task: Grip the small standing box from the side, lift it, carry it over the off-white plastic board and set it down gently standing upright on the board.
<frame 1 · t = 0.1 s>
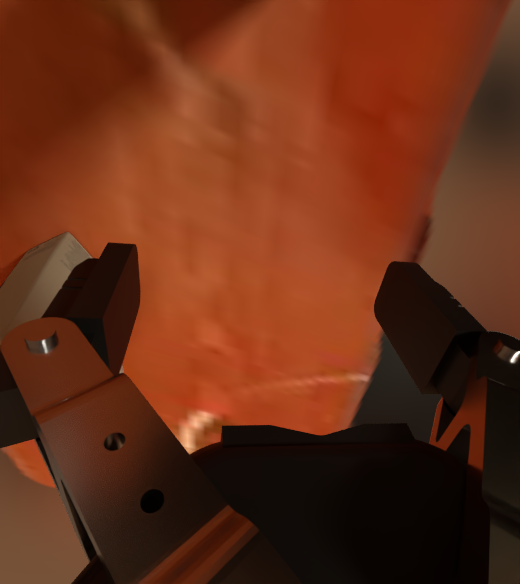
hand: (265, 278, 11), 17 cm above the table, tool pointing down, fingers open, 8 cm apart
box: (71, 262, 30), on the table
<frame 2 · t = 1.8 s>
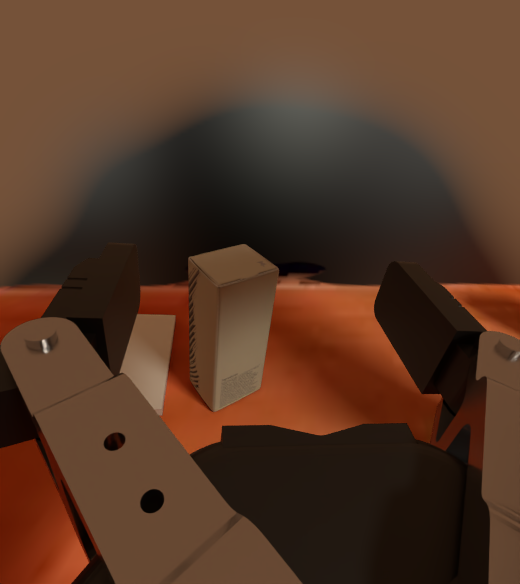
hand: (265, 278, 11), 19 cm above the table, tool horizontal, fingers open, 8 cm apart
board: (102, 360, 32), on the table
box: (223, 387, 32), on the table
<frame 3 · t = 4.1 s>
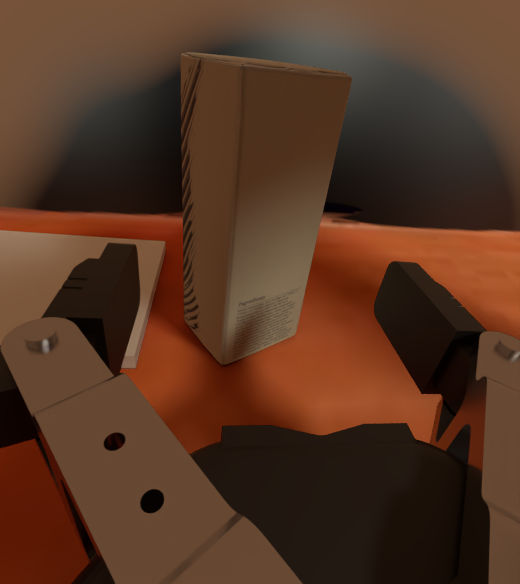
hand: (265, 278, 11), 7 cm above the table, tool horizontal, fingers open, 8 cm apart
board: (48, 291, 21), on the table
box: (237, 333, 20), on the table
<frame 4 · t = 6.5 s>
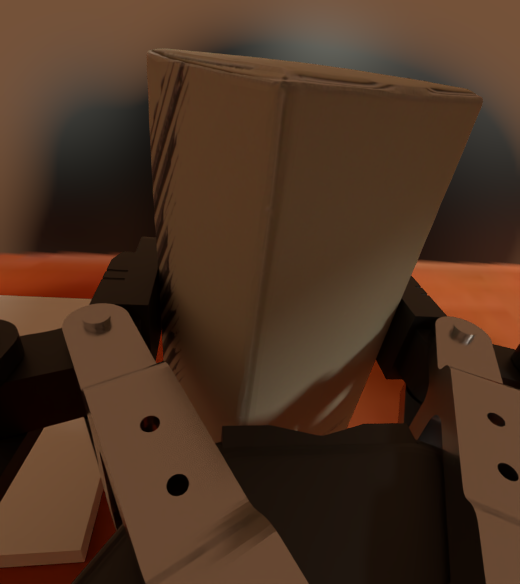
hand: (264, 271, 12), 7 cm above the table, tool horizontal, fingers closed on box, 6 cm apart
box: (246, 462, 14), on the table, touching gripper
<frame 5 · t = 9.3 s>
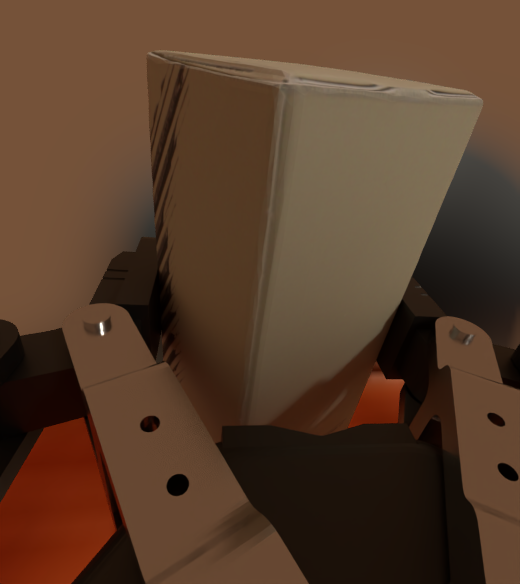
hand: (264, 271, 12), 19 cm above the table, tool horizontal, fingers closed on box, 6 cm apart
box: (246, 463, 14), point 11 cm above the table, touching gripper
when the fingers open (9 cm above the table, at t = 12.3 s): box stays where it is, resting on board.
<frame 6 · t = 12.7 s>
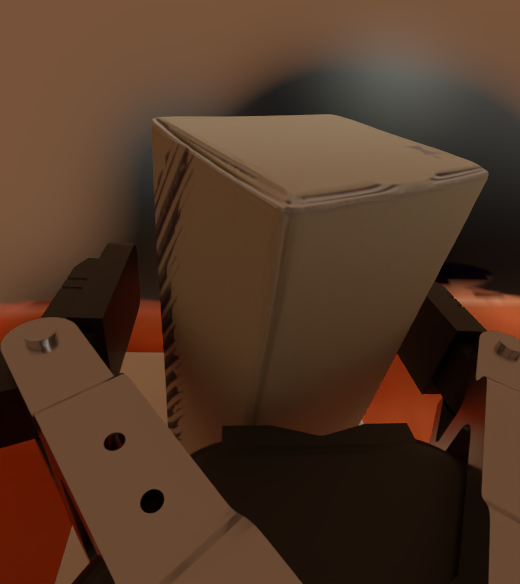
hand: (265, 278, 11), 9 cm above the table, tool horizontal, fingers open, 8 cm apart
board: (240, 463, 15), on the table
box: (245, 480, 14), point 1 cm above the table, touching board
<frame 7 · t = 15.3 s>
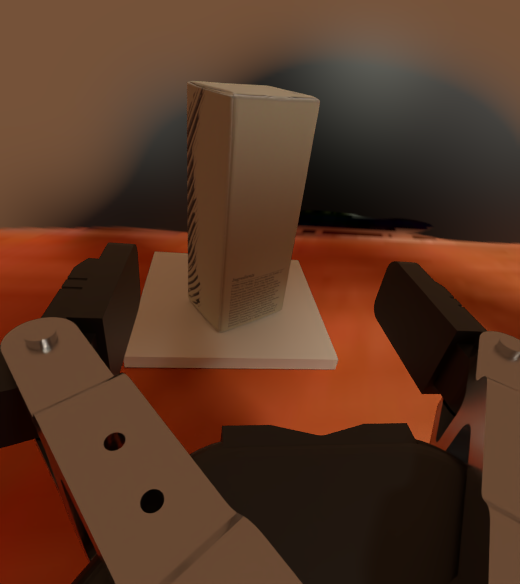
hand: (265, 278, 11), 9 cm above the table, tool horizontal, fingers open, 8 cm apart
board: (230, 306, 25), on the table
box: (232, 309, 24), point 1 cm above the table, touching board
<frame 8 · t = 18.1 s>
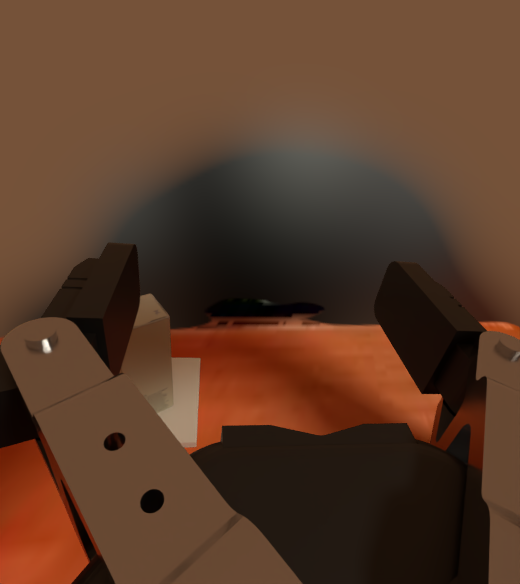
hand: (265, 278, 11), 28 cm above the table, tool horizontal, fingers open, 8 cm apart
board: (145, 399, 40), on the table
box: (143, 404, 39), point 1 cm above the table, touching board
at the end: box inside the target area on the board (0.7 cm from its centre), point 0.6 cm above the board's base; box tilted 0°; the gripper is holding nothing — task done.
